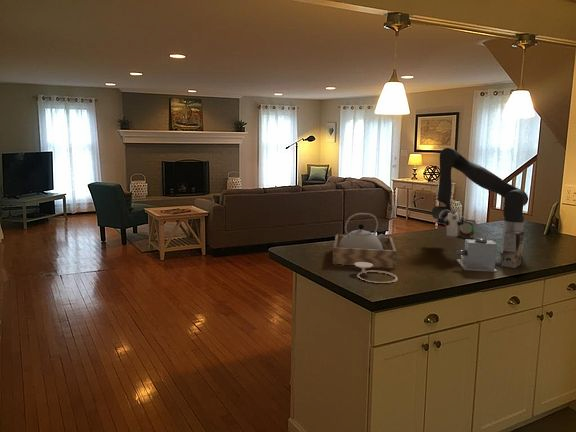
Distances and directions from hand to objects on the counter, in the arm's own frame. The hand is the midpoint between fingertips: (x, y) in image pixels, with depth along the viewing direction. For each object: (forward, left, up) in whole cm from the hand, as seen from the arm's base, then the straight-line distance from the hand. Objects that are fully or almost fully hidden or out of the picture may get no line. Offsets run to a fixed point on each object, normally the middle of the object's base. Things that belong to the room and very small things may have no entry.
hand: (453, 223), depth 230 cm
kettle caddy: (+43, +9, -18) cm, 48 cm away
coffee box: (-26, +7, -18) cm, 32 cm away
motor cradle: (-7, +12, -18) cm, 23 cm away
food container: (-21, -57, -18) cm, 63 cm away
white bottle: (0, -3, -7) cm, 7 cm away
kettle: (+44, +9, -18) cm, 48 cm away
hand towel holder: (+39, +40, -18) cm, 59 cm away
